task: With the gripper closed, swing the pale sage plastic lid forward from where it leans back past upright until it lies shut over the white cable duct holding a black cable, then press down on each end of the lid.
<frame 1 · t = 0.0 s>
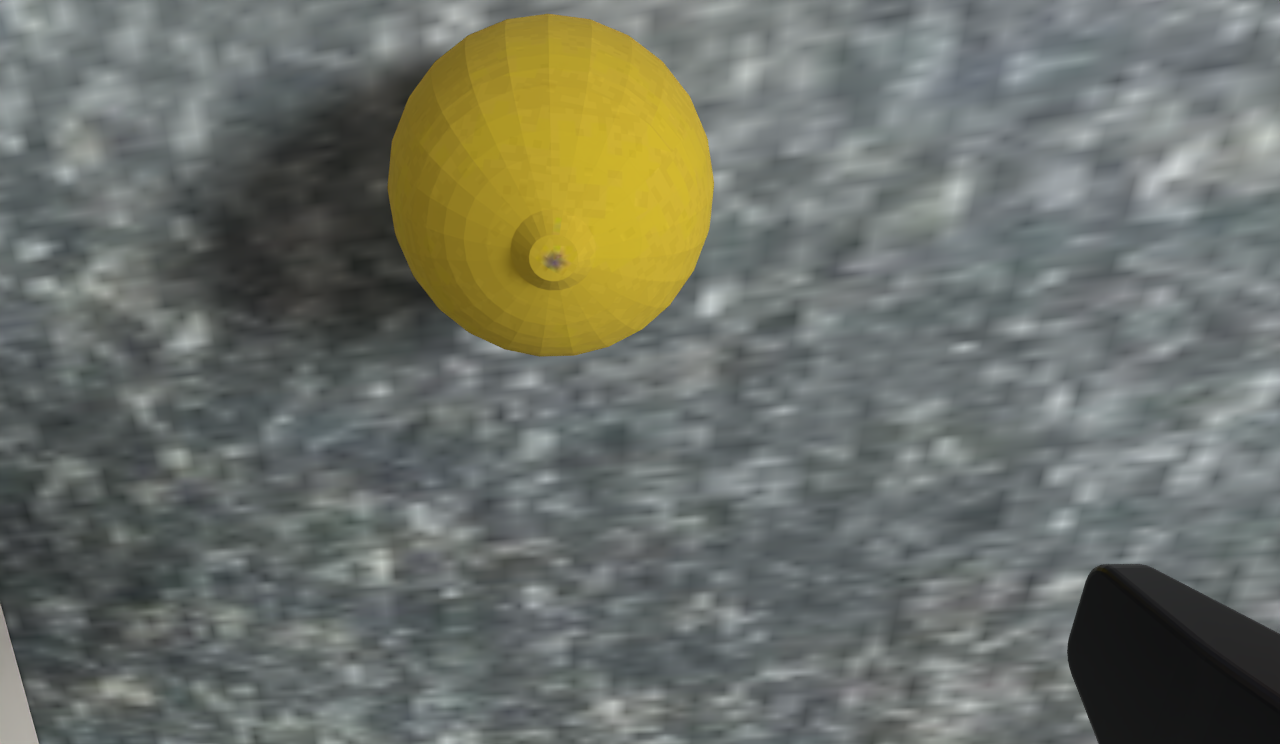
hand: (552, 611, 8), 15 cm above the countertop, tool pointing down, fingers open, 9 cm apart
lemon: (553, 132, 21), on the countertop
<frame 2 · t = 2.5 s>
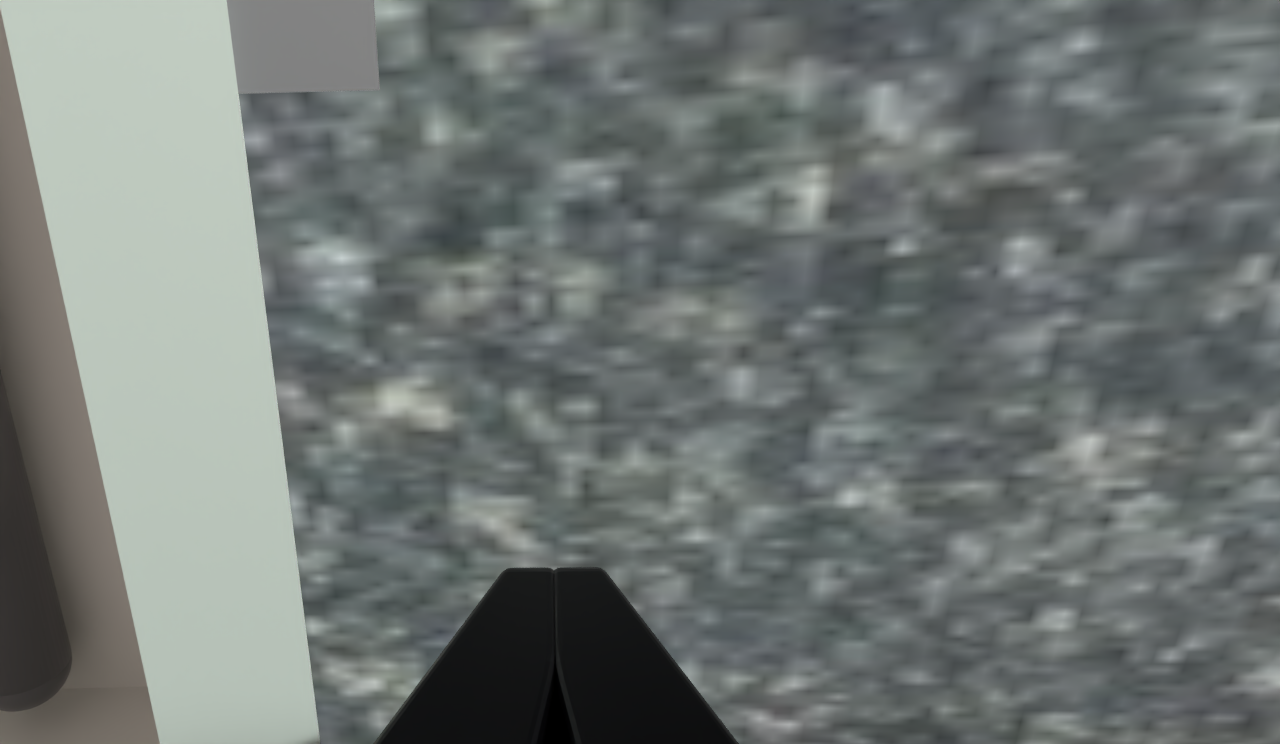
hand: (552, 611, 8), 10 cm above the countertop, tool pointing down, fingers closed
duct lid: (264, 484, 10), point 8 cm above the countertop, hinge at 108.0°, touching gripper
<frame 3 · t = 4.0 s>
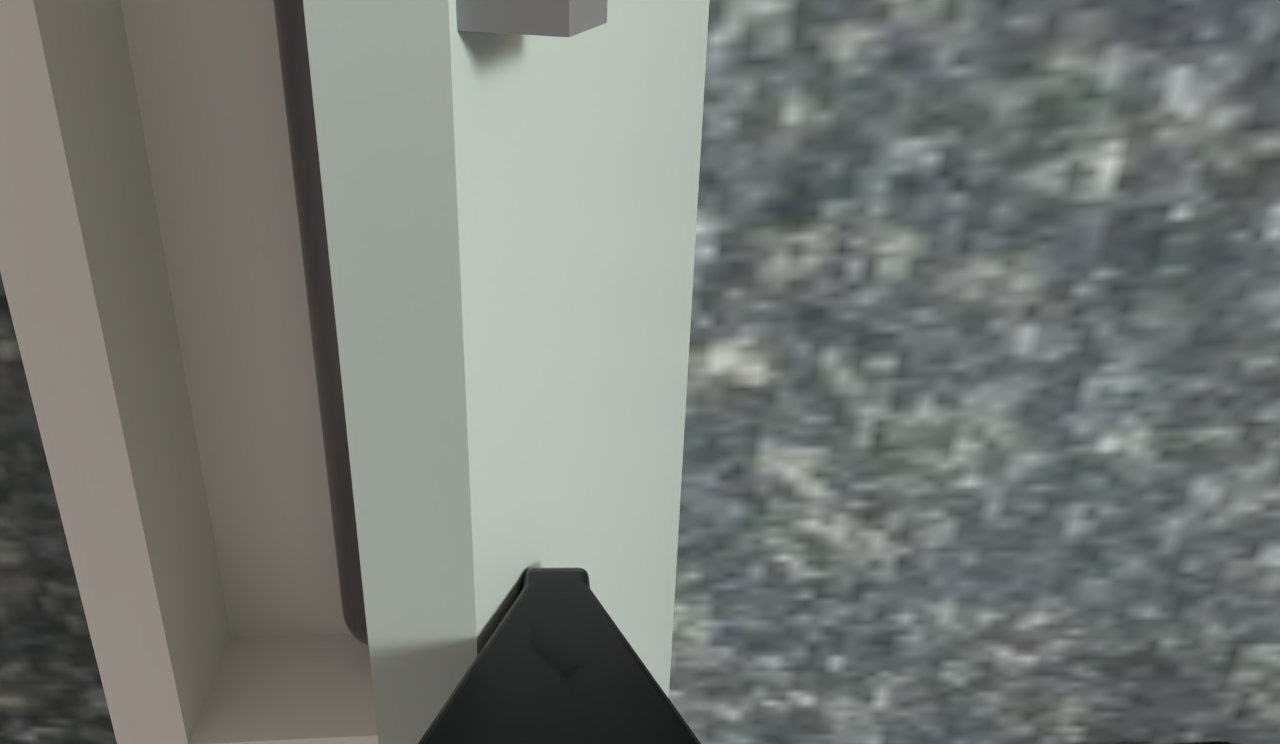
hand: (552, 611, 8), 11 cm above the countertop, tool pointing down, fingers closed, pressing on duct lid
cable duct: (364, 215, 18), on the countertop
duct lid: (616, 420, 11), point 8 cm above the countertop, hinge at 71.9°, touching gripper
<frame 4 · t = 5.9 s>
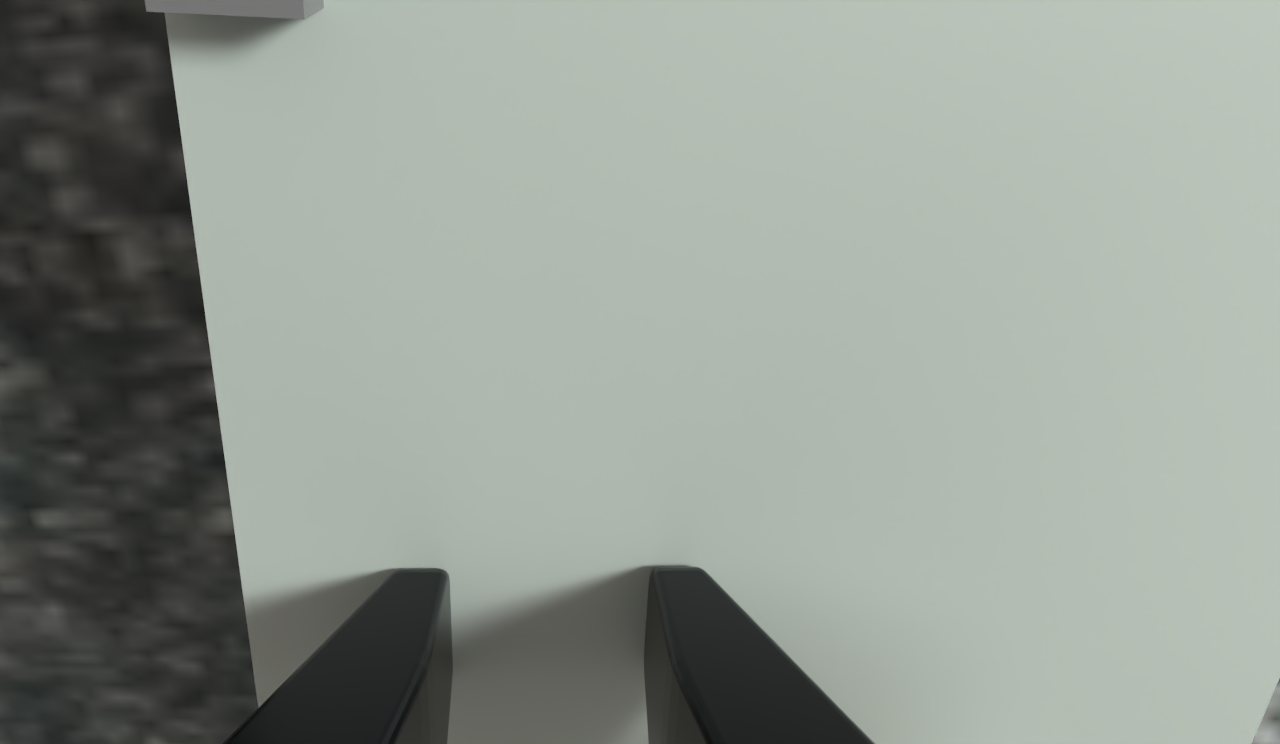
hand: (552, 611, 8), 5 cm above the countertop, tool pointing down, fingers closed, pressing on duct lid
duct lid: (813, 601, 8), point 5 cm above the countertop, hinge at 4.4°, touching gripper
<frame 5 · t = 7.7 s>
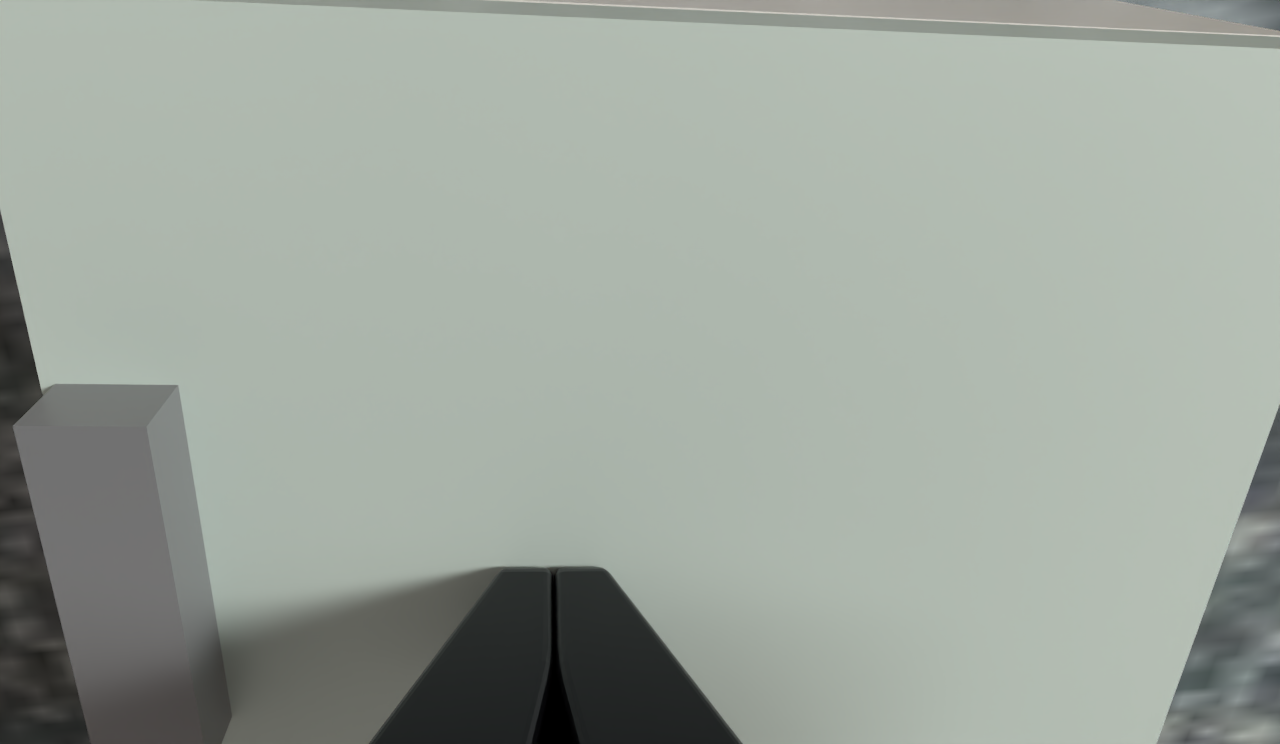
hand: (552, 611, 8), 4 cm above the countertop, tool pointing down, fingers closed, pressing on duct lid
cable duct: (618, 720, 14), on the countertop
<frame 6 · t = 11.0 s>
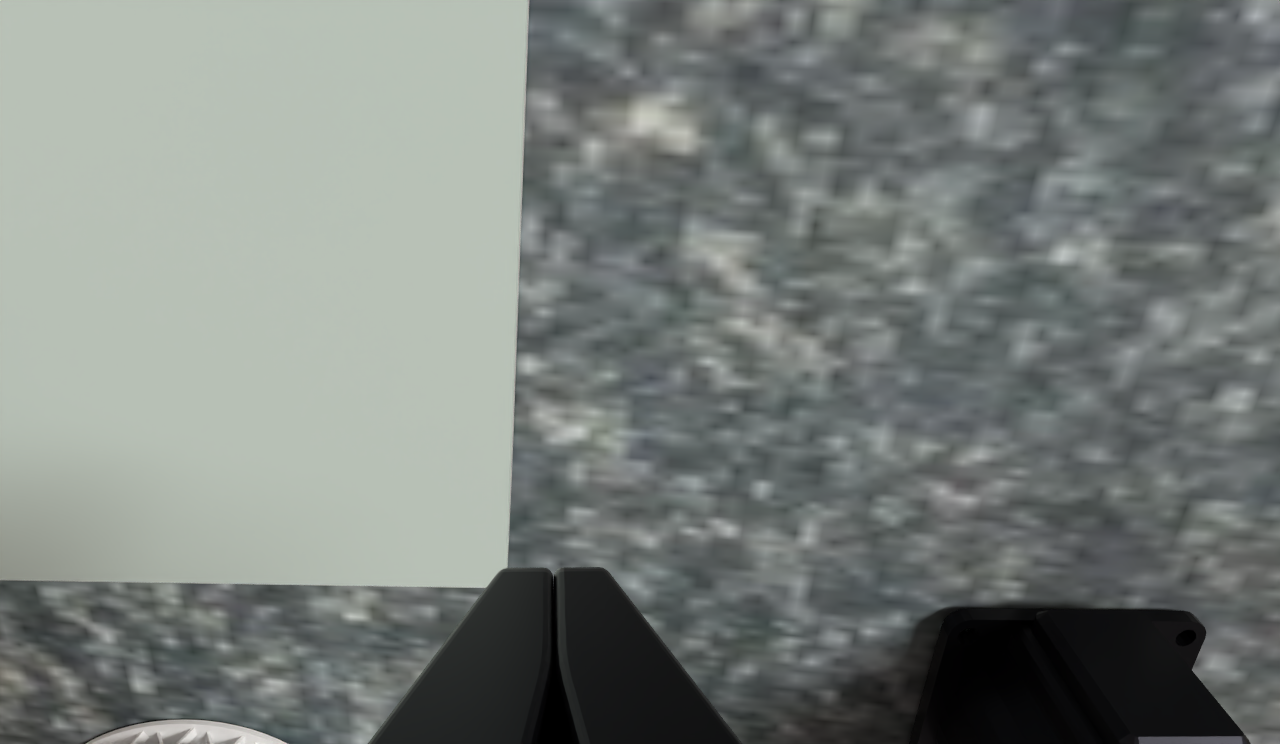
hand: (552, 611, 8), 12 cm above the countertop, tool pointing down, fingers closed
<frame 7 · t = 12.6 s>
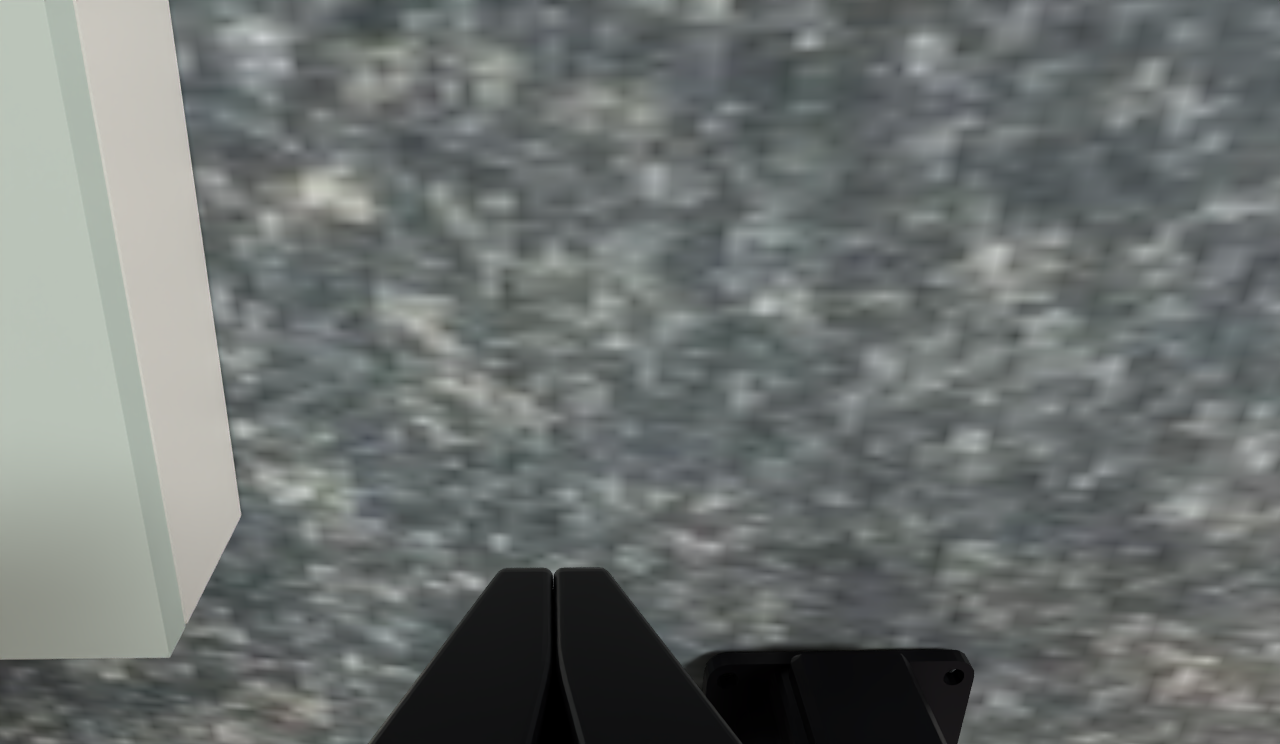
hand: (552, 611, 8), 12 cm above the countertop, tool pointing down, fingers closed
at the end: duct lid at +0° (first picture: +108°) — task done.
